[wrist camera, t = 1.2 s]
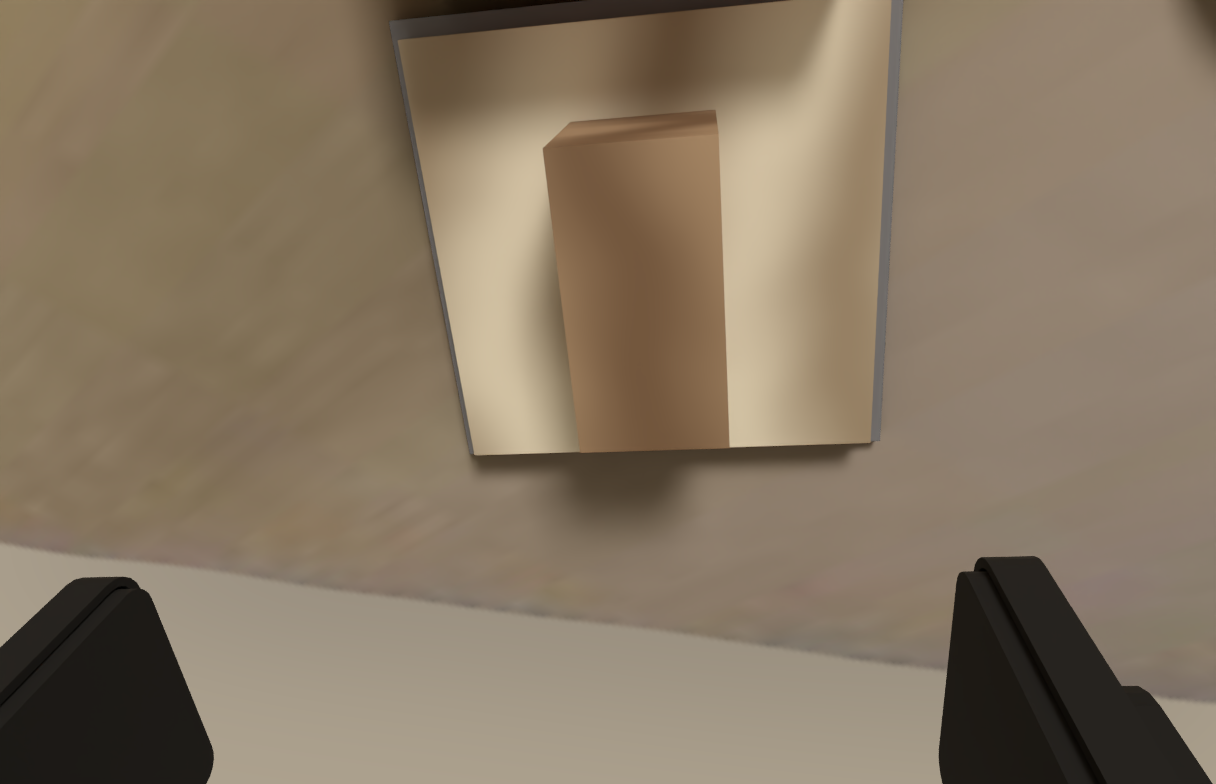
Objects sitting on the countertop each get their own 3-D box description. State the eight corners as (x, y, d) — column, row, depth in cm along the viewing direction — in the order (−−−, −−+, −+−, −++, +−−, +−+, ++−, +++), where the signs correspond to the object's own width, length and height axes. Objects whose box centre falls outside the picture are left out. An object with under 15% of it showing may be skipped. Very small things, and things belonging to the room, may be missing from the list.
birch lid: (884, -10, 22) (938, -12, 17) (864, 428, 27) (901, 523, 22) (409, 38, 23) (330, 49, 18) (481, 441, 29) (436, 532, 24)
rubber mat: (900, -33, 22) (904, -33, 21) (877, 433, 28) (879, 440, 27) (394, 20, 24) (388, 21, 23) (473, 446, 30) (470, 454, 29)
